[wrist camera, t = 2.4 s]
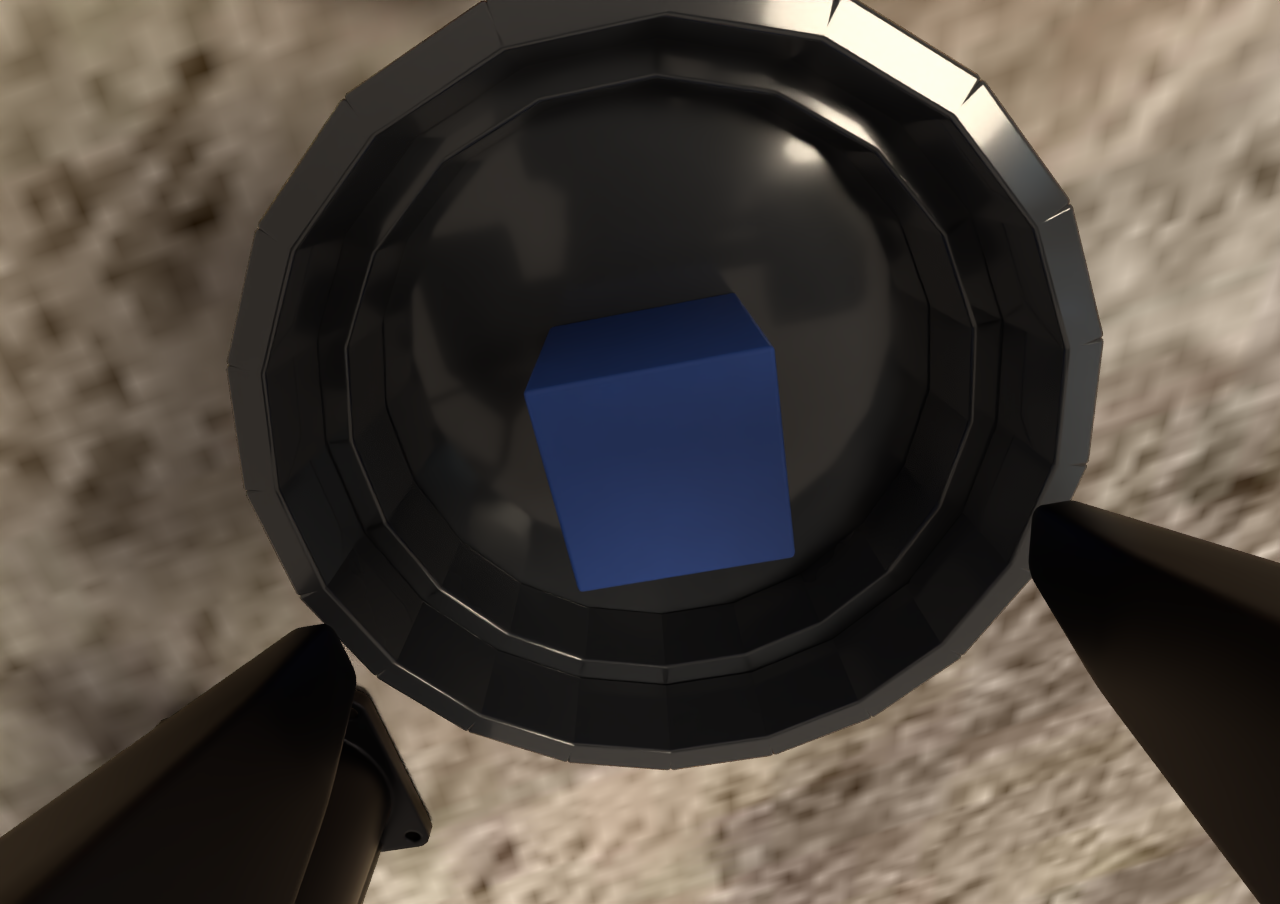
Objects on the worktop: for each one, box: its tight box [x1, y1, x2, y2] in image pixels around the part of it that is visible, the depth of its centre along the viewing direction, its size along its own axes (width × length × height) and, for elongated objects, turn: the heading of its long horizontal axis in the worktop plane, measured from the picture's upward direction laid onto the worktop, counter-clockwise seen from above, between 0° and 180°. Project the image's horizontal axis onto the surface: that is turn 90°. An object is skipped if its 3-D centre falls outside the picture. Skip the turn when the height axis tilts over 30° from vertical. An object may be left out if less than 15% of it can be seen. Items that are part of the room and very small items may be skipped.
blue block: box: [524, 293, 795, 592], centre depth 13 cm, size 4×4×4 cm
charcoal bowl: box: [227, 0, 1103, 770], centre depth 13 cm, size 14×14×4 cm
